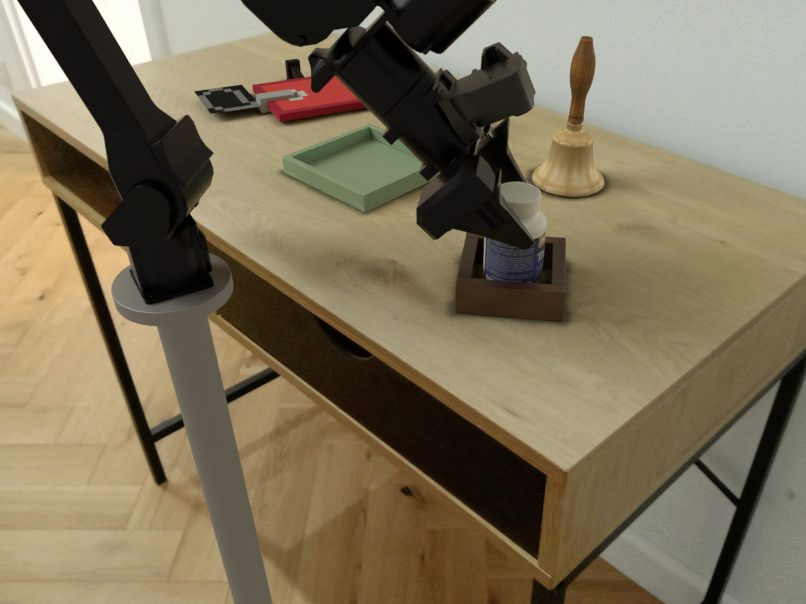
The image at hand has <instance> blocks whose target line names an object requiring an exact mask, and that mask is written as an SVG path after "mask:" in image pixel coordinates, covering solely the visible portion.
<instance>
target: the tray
mask: <svg viewBox="0 0 806 604" xmlns="http://www.w3.org/2000/svg"><path fill="white" fill-rule="evenodd" d="M385 129H386V128H382V127H380V126H377V125H375V124H373V123H367V124H365V125H361V126H360V127H357V128H354V129H351V130H348V131H346V132H344V133H341V134H339V135H336V136H333V137H329V138H328V139H325V140H322V141H320V142H317V143H314V144H312V145H309V146H307V147H304V148H301V149H299V150H296V151H294V152H291V153H288V154H286V155H282V157H281V160H282V168H283V174H285V175H287V176H289V177H291V178H294V179H296V180H297V181H300V182H301V183H304V184H306V185H307V186H309V187H312V188H314V189H316V190H318V191H320V192H322V193H324V194H326V195H329V196H330V197H331V198H334V199H336V200H339V201H341V202H343V203H344V204H346V205H349V206H351V207H352V208H355V209H357V210H359V211H361V212H363V213H366V212H369V211H371V210H374V209H375V208H377V207H380V206H382V205H384V204H386V203H388V202H390V201H393V200H394V199H397V198H399V197H400V196H404V195H405V194H407V193H409V192H412V191H413V190H416V189H418V188H420V187H422V186H424V185H427V184H429V183H430V182H431V181H432V180H433V179H434V178H436V177H437V176H438V175H439V174H440V172H438V173H437V174H436V175H435V176H433V177H432V178H431V179H430V180H429V181H427V180H426V179H425V178H424V177H423V176H422V175H421V174H420V173H419V171H420V169H421V166H422V162H421V161H420V160H419V159H418V158H417V157H416V156H415V155H414V154H413V153H412V152H411V151H410V150H409V149H408V148H407V147H406V146H405V145H404V144H403V143H402V142H401V141H399V140H397V141H396V142H394V143H393V144H392V145H390V144H389V143H388V142H387V141H386V140H385V139H384V138H383V137H382V136H383V133H384V131H385Z"/></svg>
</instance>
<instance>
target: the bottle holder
mask: <svg viewBox="0 0 806 604" xmlns="http://www.w3.org/2000/svg"><path fill="white" fill-rule="evenodd" d="M483 262H484V237H482V236H479V235H475V234H471V233H467V232H465V238H464V243H463V247H462V253H461V257H460V263H459V267H458V271H457V276H456V282H455V288H454V289H455V291H454V293H455V294H454V304H455V305H454V313H455V314H463V315H465V314H466V315H476V316H491V317H502V318H516V319H528V320H540V321H550V322H551V321H553V322H562V321H563V318H564V311H565V310H564V309H565V301H566V288H567V287H566V286H567V285H566V284H567V283H566V282H567V281H566V279H567V277H566V275H567V274H566V273H567V271H566V270H567V237H562V236H561V237H560V236H547V235H546V238H545V249H544V259H543V268H542V270H543V271H544V270H545V271H546V270H547V271H549V284H548V283H541V284H537V283H524V282H511V281H498V280H485V279H483V278H476V274H477V269H478V266H479V265H480V266H483Z"/></svg>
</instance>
